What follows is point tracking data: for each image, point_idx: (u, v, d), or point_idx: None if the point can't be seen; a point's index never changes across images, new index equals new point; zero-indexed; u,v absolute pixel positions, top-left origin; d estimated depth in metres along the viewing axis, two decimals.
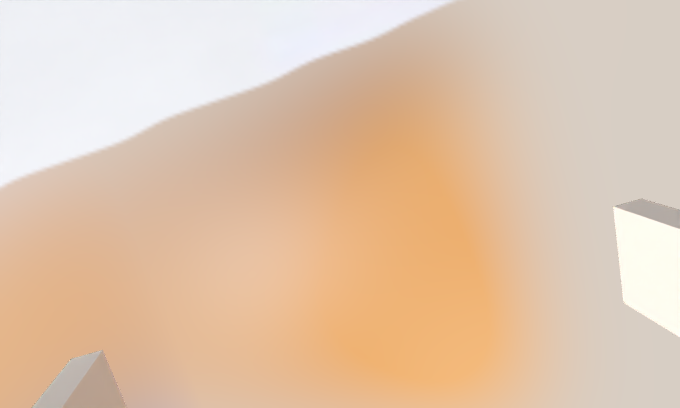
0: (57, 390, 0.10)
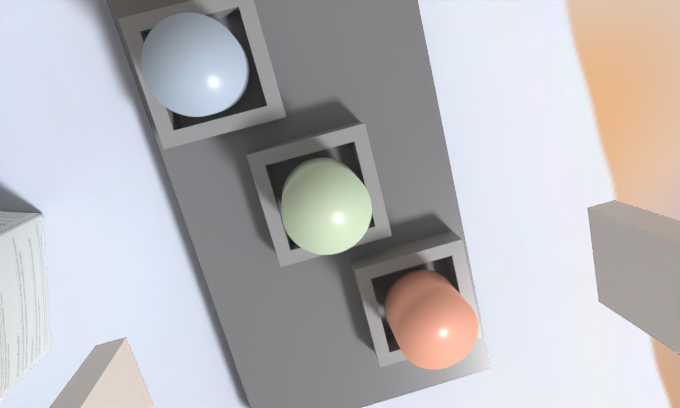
0: (86, 374, 0.10)
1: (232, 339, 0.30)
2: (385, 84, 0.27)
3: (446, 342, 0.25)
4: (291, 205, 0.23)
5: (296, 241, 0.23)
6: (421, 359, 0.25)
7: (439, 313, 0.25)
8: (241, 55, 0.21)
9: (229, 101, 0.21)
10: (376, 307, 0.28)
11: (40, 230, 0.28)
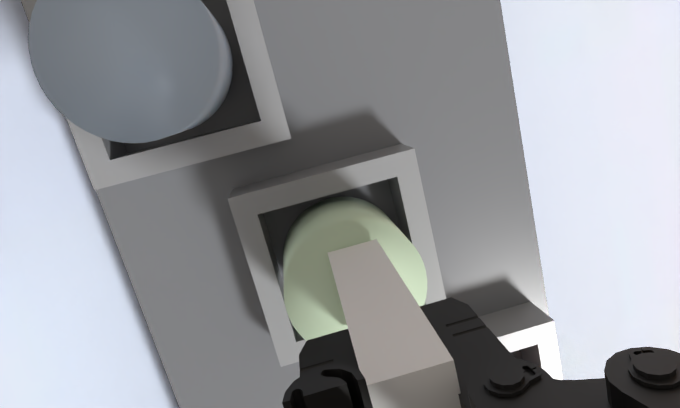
0: (344, 266, 0.12)
1: None
2: (441, 88, 0.18)
3: None
4: (299, 282, 0.14)
5: (307, 337, 0.15)
6: None
7: None
8: (214, 34, 0.12)
9: (192, 116, 0.12)
10: None
11: None
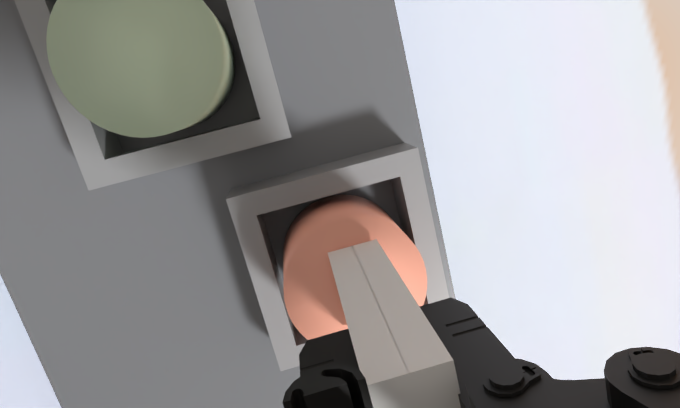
0: (344, 266, 0.12)
1: (34, 323, 0.18)
2: None
3: None
4: (64, 37, 0.12)
5: (82, 109, 0.13)
6: None
7: None
8: None
9: None
10: (269, 267, 0.16)
11: None
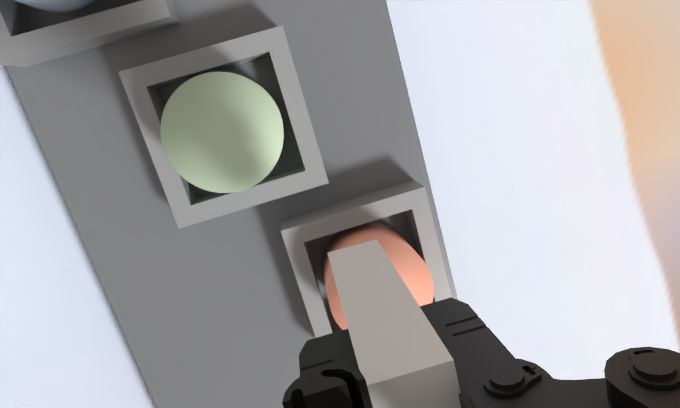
0: (344, 266, 0.12)
1: (130, 329, 0.23)
2: None
3: None
4: (173, 126, 0.17)
5: (184, 175, 0.18)
6: None
7: None
8: None
9: None
10: (313, 281, 0.21)
11: None
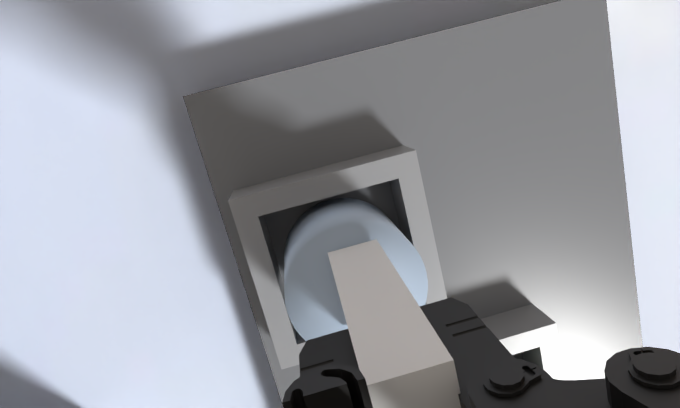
0: (344, 266, 0.12)
1: None
2: (570, 256, 0.20)
3: None
4: None
5: None
6: None
7: None
8: (425, 274, 0.15)
9: None
10: None
11: None
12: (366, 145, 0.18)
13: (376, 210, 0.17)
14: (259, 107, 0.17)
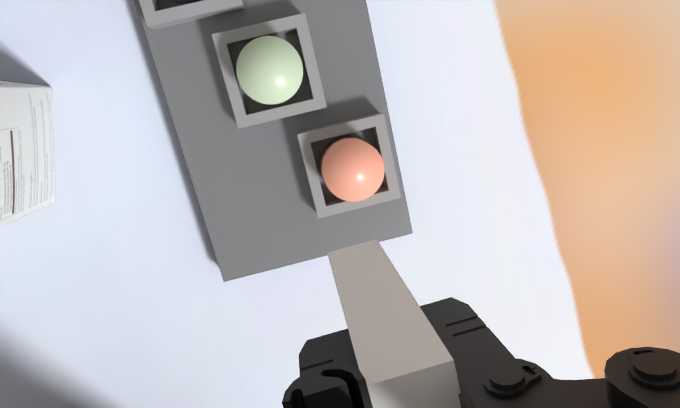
0: (344, 266, 0.12)
1: (201, 195, 0.37)
2: None
3: (360, 179, 0.34)
4: (243, 64, 0.31)
5: (247, 92, 0.32)
6: (341, 192, 0.34)
7: (355, 156, 0.34)
8: None
9: None
10: (315, 167, 0.36)
11: (50, 99, 0.35)
12: None
13: None
14: None
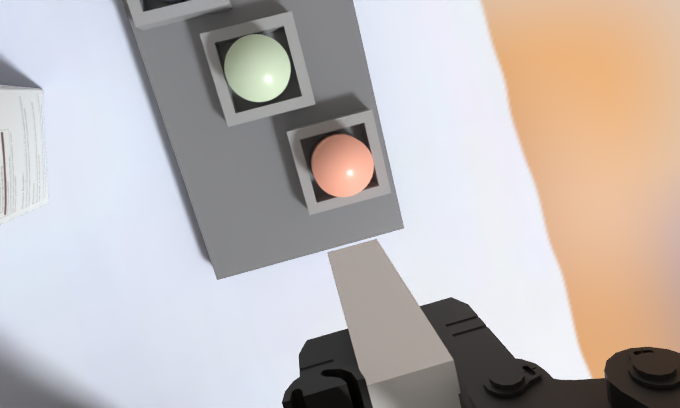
0: (344, 266, 0.12)
1: (192, 194, 0.37)
2: None
3: (349, 175, 0.34)
4: (231, 62, 0.32)
5: (235, 90, 0.32)
6: (331, 188, 0.34)
7: (344, 152, 0.34)
8: None
9: None
10: (305, 164, 0.36)
11: (41, 101, 0.36)
12: None
13: None
14: None
